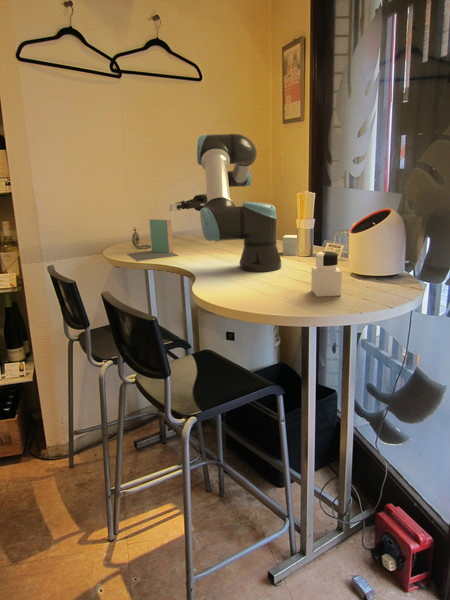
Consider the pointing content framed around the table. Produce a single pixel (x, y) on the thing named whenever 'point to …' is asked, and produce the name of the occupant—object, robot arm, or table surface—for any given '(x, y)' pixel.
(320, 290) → the medicine bottle
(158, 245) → the tile
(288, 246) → the product box
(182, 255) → the table surface
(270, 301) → the table surface
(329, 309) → the table surface
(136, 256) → the mat
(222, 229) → the robot arm
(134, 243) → the pocket watch
